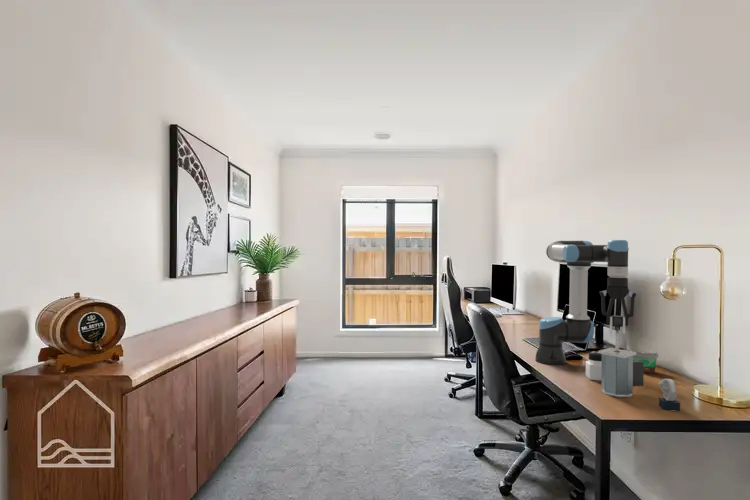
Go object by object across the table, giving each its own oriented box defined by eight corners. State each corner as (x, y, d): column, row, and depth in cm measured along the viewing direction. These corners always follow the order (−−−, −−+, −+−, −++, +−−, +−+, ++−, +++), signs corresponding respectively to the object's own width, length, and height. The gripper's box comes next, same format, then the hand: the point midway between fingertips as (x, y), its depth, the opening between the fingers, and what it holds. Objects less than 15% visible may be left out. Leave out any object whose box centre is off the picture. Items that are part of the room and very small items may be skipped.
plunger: (611, 368, 188) (611, 314, 188) (632, 372, 181) (633, 316, 181) (601, 371, 183) (601, 315, 183) (622, 376, 176) (623, 318, 176)
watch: (673, 405, 168) (673, 377, 168) (682, 413, 160) (682, 383, 160) (656, 404, 170) (657, 375, 170) (664, 411, 162) (664, 381, 162)
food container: (632, 373, 213) (633, 352, 213) (629, 369, 219) (629, 349, 219) (661, 375, 209) (662, 354, 209) (657, 371, 215) (657, 351, 215)
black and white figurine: (606, 381, 199) (606, 354, 199) (589, 380, 201) (589, 353, 201) (601, 376, 206) (601, 351, 206) (585, 375, 208) (585, 350, 208)
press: (614, 385, 193) (615, 346, 193) (644, 392, 183) (644, 351, 183) (596, 392, 184) (596, 350, 183) (626, 400, 174) (626, 356, 174)
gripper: (595, 276, 182) (594, 332, 182) (642, 278, 175) (642, 336, 175) (594, 275, 189) (593, 329, 189) (639, 277, 182) (639, 333, 182)
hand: (617, 332), depth 182 cm, fingers closed on plunger, 4 cm apart
